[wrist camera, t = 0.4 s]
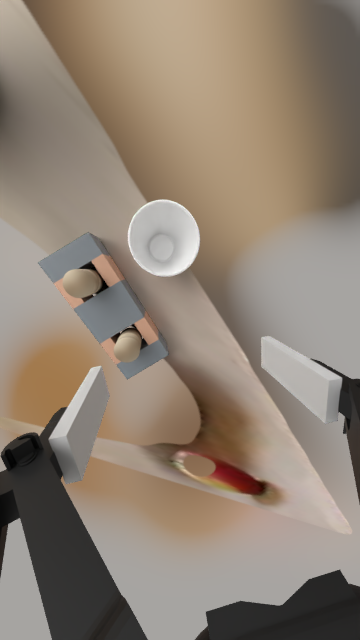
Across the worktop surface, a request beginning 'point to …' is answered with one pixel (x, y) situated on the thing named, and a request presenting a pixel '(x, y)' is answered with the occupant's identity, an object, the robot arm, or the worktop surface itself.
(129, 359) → the peg
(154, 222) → the cup
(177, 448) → the worktop surface
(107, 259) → the block
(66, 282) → the peg
